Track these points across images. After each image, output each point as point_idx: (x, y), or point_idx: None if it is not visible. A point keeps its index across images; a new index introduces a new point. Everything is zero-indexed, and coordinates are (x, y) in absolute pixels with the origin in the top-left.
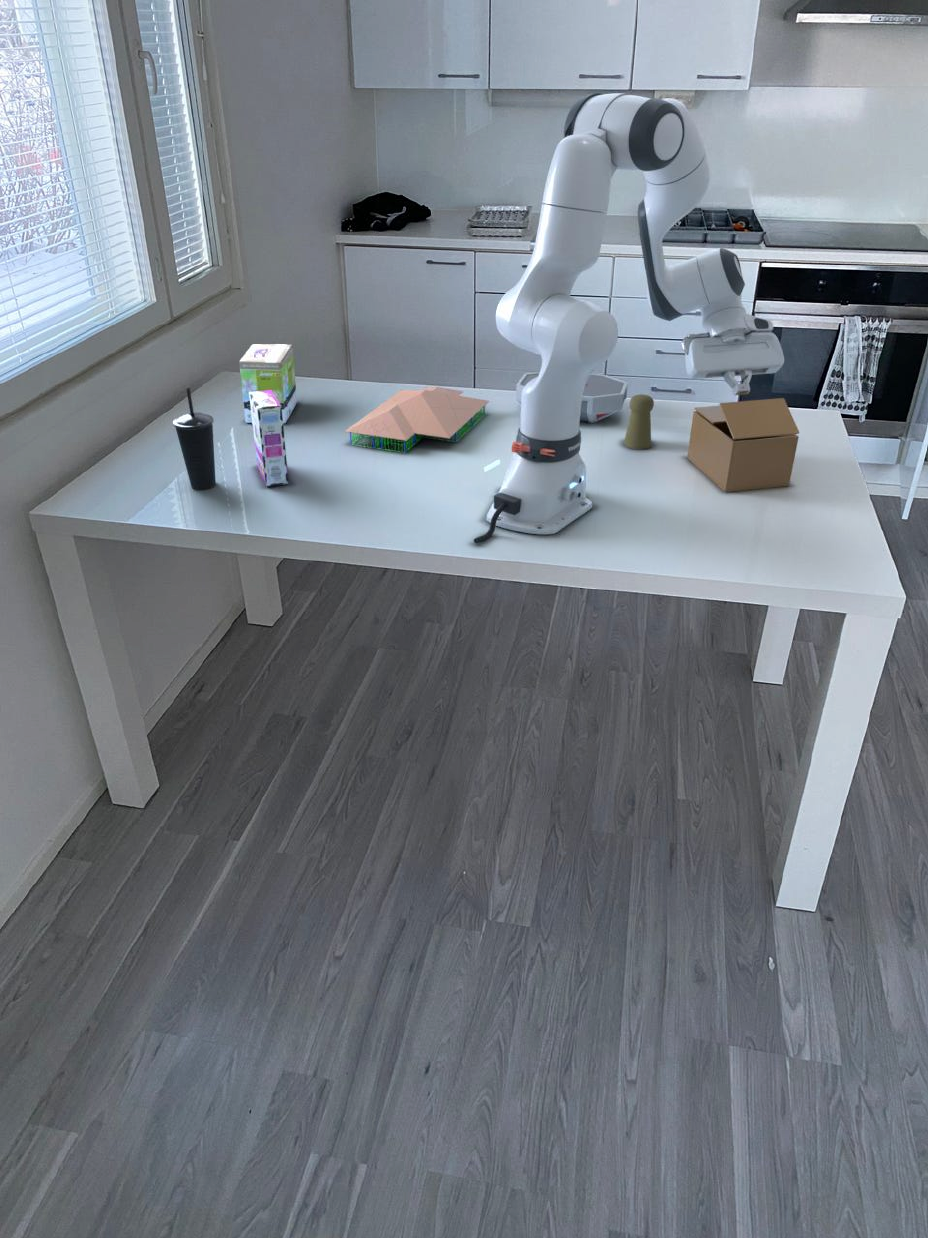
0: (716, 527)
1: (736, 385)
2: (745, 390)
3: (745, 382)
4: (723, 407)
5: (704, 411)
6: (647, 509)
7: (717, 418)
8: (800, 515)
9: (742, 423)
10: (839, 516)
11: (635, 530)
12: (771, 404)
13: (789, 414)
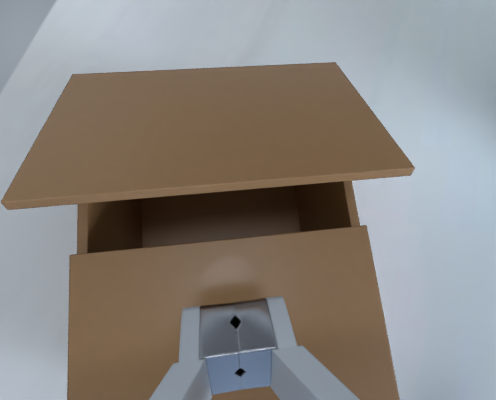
0: (354, 12)
1: (290, 330)
2: (219, 304)
3: (199, 381)
4: (390, 148)
5: (371, 364)
6: (463, 94)
7: (337, 265)
8: (181, 27)
9: (298, 94)
10: (107, 12)
11: (492, 25)
12: (114, 164)
13: (53, 125)
